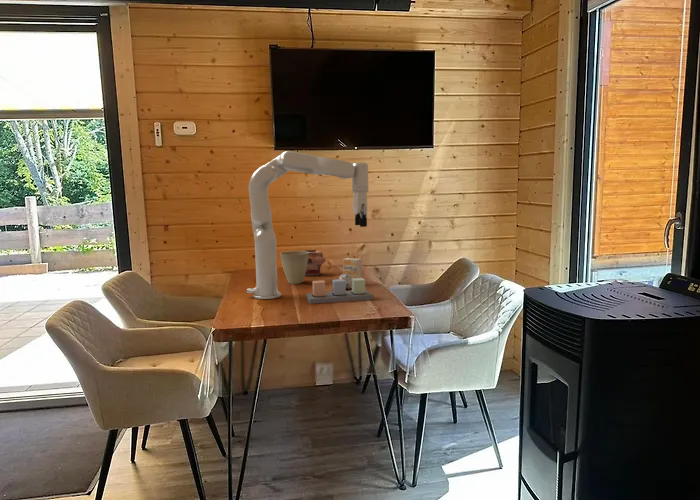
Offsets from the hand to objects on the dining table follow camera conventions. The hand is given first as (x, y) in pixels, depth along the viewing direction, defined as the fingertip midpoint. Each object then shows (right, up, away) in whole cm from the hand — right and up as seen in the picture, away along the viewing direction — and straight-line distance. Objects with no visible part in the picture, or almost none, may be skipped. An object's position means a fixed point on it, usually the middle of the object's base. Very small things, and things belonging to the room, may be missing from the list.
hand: (360, 225), depth 232 cm
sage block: (-1, -31, -11) cm, 32 cm away
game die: (-7, -31, +8) cm, 33 cm away
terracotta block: (-19, -31, -15) cm, 39 cm away
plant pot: (-34, -29, +26) cm, 52 cm away
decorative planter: (-29, -26, +49) cm, 62 cm away
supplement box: (-4, -29, +20) cm, 36 cm away
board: (-10, -33, -12) cm, 37 cm away
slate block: (-10, -31, -13) cm, 35 cm away
